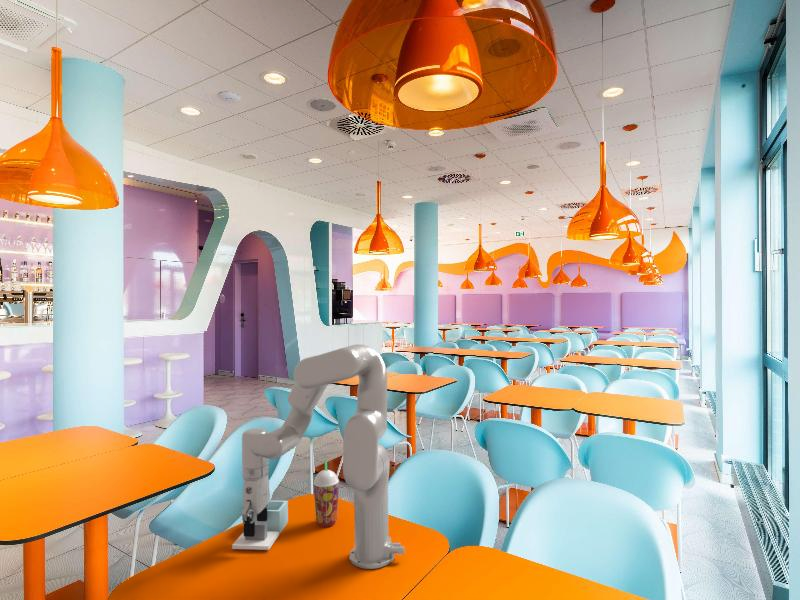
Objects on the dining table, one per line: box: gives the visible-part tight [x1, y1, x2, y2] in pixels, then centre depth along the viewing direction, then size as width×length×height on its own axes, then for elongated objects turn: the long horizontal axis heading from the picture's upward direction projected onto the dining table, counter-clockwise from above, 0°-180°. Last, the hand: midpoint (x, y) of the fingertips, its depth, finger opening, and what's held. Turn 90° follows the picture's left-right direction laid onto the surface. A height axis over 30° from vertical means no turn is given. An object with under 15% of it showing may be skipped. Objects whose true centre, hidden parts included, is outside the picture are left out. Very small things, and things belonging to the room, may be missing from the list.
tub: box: [248, 499, 289, 535], centre depth 152 cm, size 10×8×7 cm
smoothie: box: [312, 461, 340, 528], centre depth 155 cm, size 8×8×20 cm
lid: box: [231, 521, 280, 551], centre depth 142 cm, size 11×9×6 cm
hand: (255, 528), depth 142 cm, fingers open, 9 cm apart
